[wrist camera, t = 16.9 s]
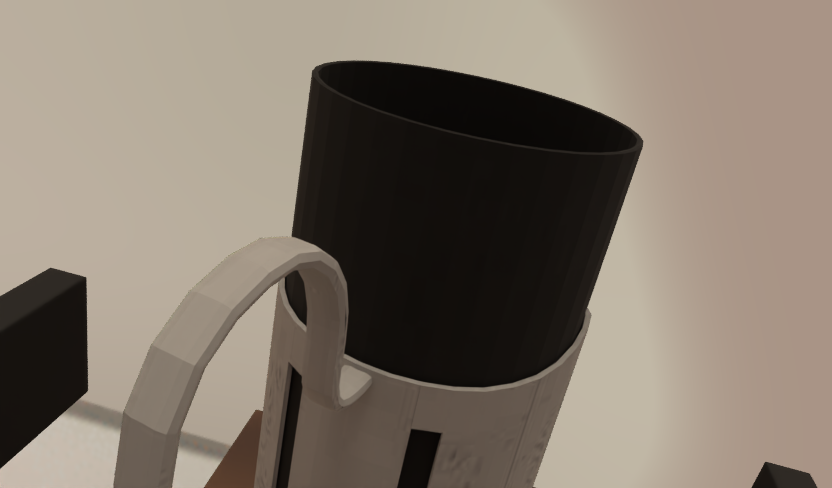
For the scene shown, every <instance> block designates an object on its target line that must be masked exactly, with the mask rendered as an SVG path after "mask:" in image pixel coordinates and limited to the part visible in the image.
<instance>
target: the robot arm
mask: <svg viewBox="0 0 832 488" xmlns="http://www.w3.org/2000/svg"><path fill="white" fill-rule="evenodd" d="M86 293H87V288H86V277H83V276H79V275H76V274H72V273H68V272H65V271H61V270H57V269H53V268H49V269H48V270H46V271H44V272H42V273H40V274H39V275H37V276H35V277H33V278H32V279H30V280H28V281H26V282H25V283H23V284H21V285H19V286H17V287H16V288H14V289H12V290H10V291H9V292H7V293H5V294H3V295H2V296H0V469H1V468H2V467H3V466H4V465H5V464H6V463H7V462H8V461H10V460H11V459H12V458H13V457H14V456H15V455H16V454H17V453H19V452H20V451H21V450H22V449H23V448H24V447H25V446H26V445H28V444H29V443H30V442H31V441H32V440H33V439H34V438H36V437H37V436H38V435H39V434H40V433H41V432H42V431H43V430H45V429H46V428H47V427H48V426H49V425H50V424H51V423H52V422H54V421H55V420H56V419H57V418H58V417H59V416H60V415H61V414H63V413H64V412H65V411H66V410H67V409H68V408H69V407H70V406H72V405H73V404H74V403H75V402H76V401H77V400H78V399H80V398H81V397H82V396H83V395H84V394H85V393H86V392H87V391H88V361H87V360H88V359H87V294H86ZM752 488H817V486H816V484H815V482H814V481H813V479H812V477H811V476H810V474H809V473H806V472H802V471H798V470H795V469H791V468H787V467H783V466H780V465H776V464H772V463H768V462H765V463H764V465H763V467H762V469H761V471H760V473H759V475H758V477H757V479H756V480H755V482H754V484H753V486H752Z"/></svg>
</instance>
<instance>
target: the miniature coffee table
mask: <svg viewBox="0 0 832 488" xmlns="http://www.w3.org/2000/svg"><path fill="white" fill-rule="evenodd" d="M262 416H263V411H260V410H255V412H254V413H253V415H252V416H251V418H250V419H249V421H248V422H247V424H246V425H245V427H244V428H243V430H242V432H241V433H240V434H239V436H238V437H237V439H236V440H235V442H234V443H233V445H232V446H231V448H230V449H229V451H228V452H227V454H226V455H225V457H224V458H223V460H222V461H221V463H220V464H219V466H218V467H217V469H216V470H215V472H214V473H213V475H212V476H211V478H210V479H209V481H208V482H207V484H206V485H205V487H204V488H254V482H255V474H256V466H257V457H258V449H259V441H260V432H261V424H262ZM532 488H535V487H532Z"/></svg>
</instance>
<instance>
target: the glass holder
mask: <svg viewBox="0 0 832 488" xmlns="http://www.w3.org/2000/svg"><path fill="white" fill-rule="evenodd" d="M642 147H643V140H642V138H641V137H640V136H639V135H638V134H637V133H636V132H635V131H633V130H632V129H631V128H629V127H628V126H626V125H624V124H622V123H621V122H619V121H617V120H615V119H613V118H611V117H609V116H606V115H604V114H602V113H600V112H597V111H595V110H592V109H590V108H587V107H585V106H582V105H579V104H576V103H574V102H571V101H568V100H565V99H562V98H559V97H555V96H552V95H549V94H546V93H542V92H539V91H535V90H531V89H528V88H524V87H521V86H517V85H513V84H509V83H505V82H501V81H497V80H492V79H487V78H483V77H479V76H474V75H469V74H464V73H459V72H454V71H448V70H442V69H437V68H431V67H424V66H417V65H409V64H401V63H391V62H378V61H337V62H330V63H324V64H322V65H319V66H316V67H315V69H314V70H313V71H312V78H311V86H310V93H309V102H308V109H307V118H306V125H305V133H304V142H303V150H302V157H301V165H300V174H299V182H298V189H297V197H296V205H295V214H294V221H293V229H292V237H270V238H259V239H258V240H256V241H254V242H252V243H250V244H249V245H247V246H245V247H243V248H241V249H239V250H238V251H236V252H234V253H232V254H230V255H229V256H228V257H226V258H225V259H224V260H223V261H222V262H221V263H220V264H219V265H218V266H216V267H215V268H214V269H213V270H212V271H211V272H210V273H209V274H208V275H206V276H205V277H204V278H203V279H202V280H201V281H200V282H199V283H198V284H196V285H195V286H194V287H193V288H192V289H191V290H190V291H189V292H188V294H187V295H186V296H185V298H184V299H183V301H182V302H181V303H180V305H179V306H178V308H177V309H176V311H175V312H174V313H173V315H172V316H171V317H170V319H169V320H168V322H167V323H166V324H165V326H164V327H163V329H162V330H161V332H160V333H159V334H158V336H157V337H156V338H155V340H154V341H153V343H152V344H151V346H150V349H149V351H148V353H147V356H146V358H145V361H144V363H143V366H142V368H141V370H140V373H139V375H138V378H137V380H136V383H135V385H134V387H133V390H132V392H131V395H130V397H129V400H128V402H127V404H126V407H125V409H124V412H123V419H122V427H121V434H120V441H119V449H118V456H117V463H116V471H115V478H114V488H172V483H173V477H174V471H175V464H176V458H177V452H178V446H179V440H180V433H181V428H182V426H183V423H184V420H185V418H186V415H187V413H188V410H189V408H190V405H191V403H192V400H193V398H194V395H195V392H196V390H197V388H198V385H199V382H200V380H201V377H202V375H203V372H204V369H205V368H206V366H207V365H208V363H209V362H210V360H211V359H212V357H213V356H214V354H215V353H216V351H217V350H218V348H219V347H220V345H221V344H222V342H223V341H224V339H225V338H226V336H227V335H228V333H229V332H230V330H231V329H232V327H233V326H234V325H235V323H236V322H237V320H238V319H239V318H240V317H241V316H242V315H243V314H244V313H245V312H246V311H247V310H248V309H249V308H250V307H251V306H252V305H253V304H254V303H255V302H256V301H257V300H258V299H259V298H260V297H261V296H262V295H263V293H265V292H266V291H267V290H268V289H269V288H270V287H271V286H273V285H274V284H276V283H277V282H278V281H279V283H278V292H277V299H276V308H275V317H274V324H273V333H272V341H271V349H270V357H269V367H268V374H267V382H266V391H265V399H264V407H263V416H262V424H261V432H260V441H259V449H258V457H257V466H256V474H255V482H254V488H532V487H533V484H534V482H535V479H536V476H537V473H538V470H539V467H540V464H541V462H542V459H543V456H544V453H545V450H546V447H547V445H548V442H549V439H550V436H551V433H552V430H553V427H554V425H555V422H556V419H557V416H558V413H559V410H560V408H561V405H562V402H563V399H564V396H565V393H566V390H567V387H568V385H569V382H570V379H571V376H572V373H573V370H574V368H575V365H576V362H577V359H578V356H579V353H580V351H581V348H582V345H583V342H584V339H585V336H586V333H587V331H588V327H589V323H590V318H591V313H590V311H589V310H588V308H587V306H588V304H589V301H590V298H591V295H592V292H593V289H594V286H595V283H596V280H597V278H598V275H599V271H600V269H601V266H602V263H603V260H604V257H605V254H606V251H607V249H608V246H609V243H610V240H611V237H612V234H613V231H614V228H615V225H616V222H617V220H618V216H619V214H620V211H621V208H622V205H623V202H624V199H625V196H626V193H627V191H628V187H629V185H630V182H631V179H632V176H633V173H634V170H635V167H636V164H637V161H638V159H639V156H640V153H641V150H642Z"/></svg>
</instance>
